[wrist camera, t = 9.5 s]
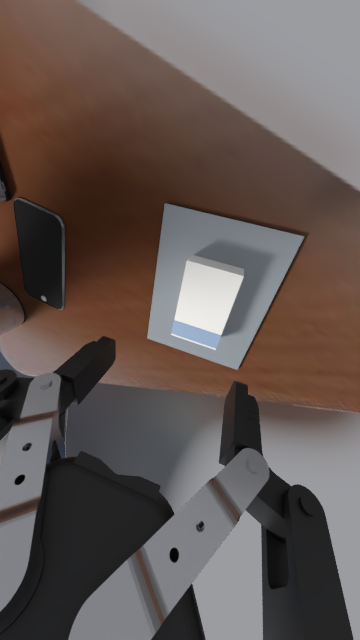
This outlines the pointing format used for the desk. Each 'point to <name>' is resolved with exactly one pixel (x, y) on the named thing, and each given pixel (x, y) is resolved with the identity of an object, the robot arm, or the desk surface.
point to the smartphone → (41, 252)
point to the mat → (229, 248)
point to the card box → (205, 300)
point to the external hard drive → (3, 188)
